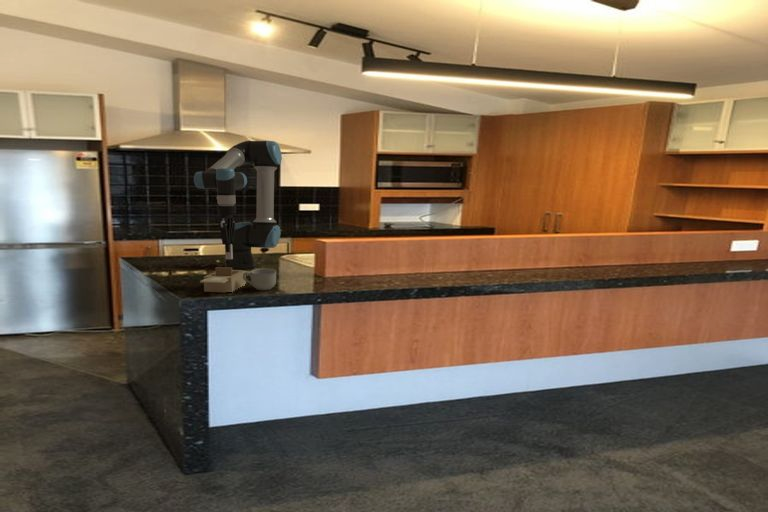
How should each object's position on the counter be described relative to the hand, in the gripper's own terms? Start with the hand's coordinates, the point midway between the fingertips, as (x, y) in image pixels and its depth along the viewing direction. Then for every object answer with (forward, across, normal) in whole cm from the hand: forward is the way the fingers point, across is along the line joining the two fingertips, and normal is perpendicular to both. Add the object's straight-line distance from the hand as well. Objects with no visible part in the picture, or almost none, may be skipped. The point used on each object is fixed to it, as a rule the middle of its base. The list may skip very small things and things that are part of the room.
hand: (229, 258), depth 230 cm
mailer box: (+12, +5, 0) cm, 13 cm away
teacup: (+12, +4, +15) cm, 20 cm away
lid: (+6, +12, 0) cm, 13 cm away
